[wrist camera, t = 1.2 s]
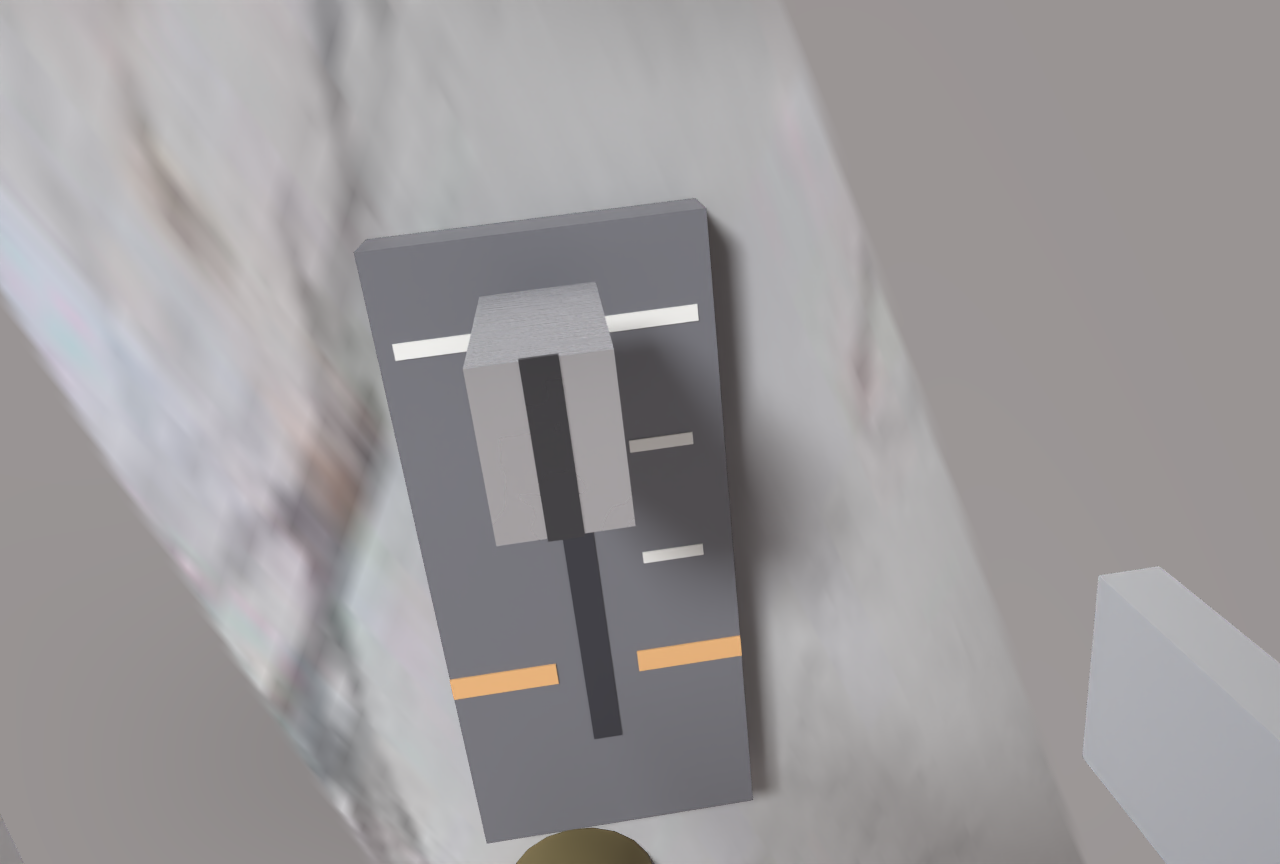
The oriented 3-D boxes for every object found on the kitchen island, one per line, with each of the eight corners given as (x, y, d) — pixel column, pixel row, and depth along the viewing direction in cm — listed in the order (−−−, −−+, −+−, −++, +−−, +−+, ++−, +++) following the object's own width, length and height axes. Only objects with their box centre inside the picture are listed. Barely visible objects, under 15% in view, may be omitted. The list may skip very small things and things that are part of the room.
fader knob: (483, 272, 26) (462, 367, 18) (589, 259, 26) (613, 347, 19) (507, 408, 28) (496, 549, 20) (606, 394, 28) (636, 529, 20)
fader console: (365, 239, 28) (353, 253, 26) (695, 198, 29) (706, 208, 27) (489, 803, 36) (486, 844, 34) (742, 762, 37) (753, 801, 35)
